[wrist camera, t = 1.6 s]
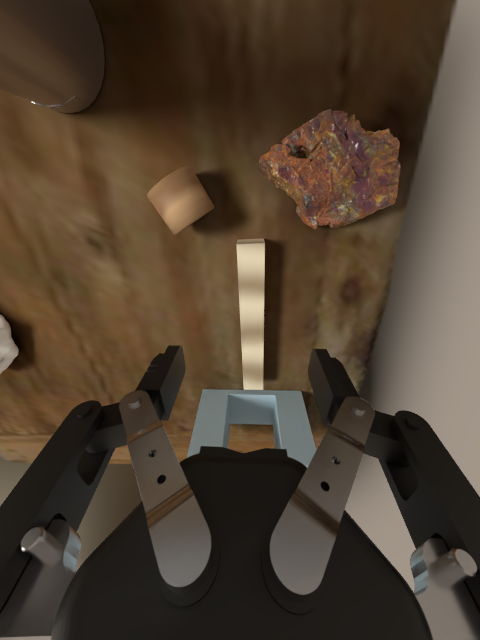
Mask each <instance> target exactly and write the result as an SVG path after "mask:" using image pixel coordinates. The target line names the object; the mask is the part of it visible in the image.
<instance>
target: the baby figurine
mask: <svg viewBox="0 0 480 640" xmlns="http://www.w3.org/2000/svg"><path fill="white" fill-rule="evenodd" d="M18 353H19V350H18V347H17V346H16V345H15V343H14V341H13V340H12V338H11V328H10V325H9V323H8V322H7V321H6V320H5V318H4V317H3V316H2V315H0V374H1V373H2V372H3V371H4V370H5V369H6V368H8V367H9V365H10V364H11V363H12V361H13V360H14V358H15V357H17V356H18Z"/></svg>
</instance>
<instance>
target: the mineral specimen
mask: <svg viewBox="0 0 480 640" xmlns="http://www.w3.org/2000/svg"><path fill="white" fill-rule="evenodd" d="M347 116H348V114H347V112H344V111H332V110H331V109H328V110H326V111H323V112H320V113H319V114H318V115H317V116H316V117H315V118H313V119H312V120H310V121H307V122H306V123H304V124H303V125H302V126H301V127H299V128H296V129H295V130H293V131H292V133H290V134H289V135H288V136H286V137H285V138H284V139H283V140H282V144H275V145H273V146H271V148H270V151H269V152H268V153H267V154H264V155H262V156H261V157H260V161H259V170H260V172H261V173H262V174H263V175H264V176H267V179H268V180H269V181H271V182H272V183H274V184H275V185H276V187H277V188H281V189H282V190H284V192H286V193H287V195H288V196H290V197H292V198H293V199H294V200H295V201H296V203H297V208H296V213H297V214H298V216H299V217H300V218H301V220H302V221H303V222H304V223H305V224H306V225H308V226H310V227H312V228H313V229H315V230H316V229H317V228H318V226H319V225H321V226H323V225H329V226H330V228H339V227H341V225H342V226H346V225H348V224H351V223H353V222H355V221H357V220H359V219H363V218H365V217H366V216H368V215H370V214H372V213H374V212H375V211H377V210H379V209H384V208H386V207H388V206H390V205H394V204H395V201H396V198H397V194H398V184H399V179H398V178H399V176H400V169H401V168H400V167H401V165H400V163H399V162H398V155H399V154H398V153H399V147H400V143H399V140H398V139H397V137H394V136H393V135H392V134H391V133H390V129H389V128H388V129H385V130H383V131H380V130H378V131H376V132H372V131H365V130H364V129H363V128H361V125H360V121H359V120H355V114H354V115H352V116H351V117H348V118H347ZM296 153H299V154H300V156H301V157H302V159H301V158H297V157H295V154H296Z"/></svg>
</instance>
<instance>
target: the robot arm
mask: <svg viewBox="0 0 480 640" xmlns="http://www.w3.org/2000/svg"><path fill="white" fill-rule="evenodd" d="M104 65H105V57H104V46H103V40H102V36H101V32H100V27H99V24H98V21H97V19H96V16H95V13H94V10H93V8H92V6H91V4H90V2H89V0H0V89H2V90H4V91H7V92H9V93H12V94H14V95H17V96H19V97H22V98H24V99H26V100H28V101H30V102H32V103H35V104H37V105H40V106H43V107H47V108H49V109H52V110H55V111H58V112H61V113H75V112H80V111H82V110H83V109H85V108H87V107H89V105H90V104H91V103H92V102H93V101H94V100H95V99H96V97H97V95H98V93H99V91H100V89H101V85H102V81H103V77H104ZM184 374H185V360H184V355H183V349H182V346H171V345H169V346H168V347H167V349H166V351H165V353H164V354H161V353H160V354H159V355H157V356H156V357H155V358H154V359H153V360H152V362H151V364H150V367H148V369H147V372H146V373H145V374H144V376H143V378H142V380H141V381H140V383H139V385H138V387H137V388H136V390H135V391H134V392H131V393H129V394H127V395H126V396H125V397H124V398H123V399H122V400H121V401H120V402H119V403H115V404H111V405H107V406H103V407H102V406H101V404H100V403H99V402H98V401H93V400H92V401H87V402H84V403H81V404H79V405H78V406H76V407H75V408H74V409H73V410H72V411H71V412H70V413H69V414H68V416H67V417H66V418H65V420H64V421H63V422H62V424H61V425H60V427H59V428H58V429H57V431H56V432H55V433H54V435H53V436H52V437H51V439H50V440H49V441H48V443H47V444H46V445H45V447H44V448H43V450H42V451H41V452H40V454H39V455H38V456H37V458H36V459H35V460H34V462H33V463H32V464H31V466H30V467H29V469H28V470H27V471H26V473H25V474H24V475H23V477H22V478H21V479H20V481H19V482H18V483H17V485H16V486H15V487H14V489H13V490H12V492H11V493H10V494H9V496H8V497H7V498H6V500H5V501H4V502H3V504H2V505H1V506H0V640H480V497H479V496H478V494H477V493H476V491H475V490H474V488H473V487H472V485H471V484H470V483H469V481H468V480H467V478H466V477H465V476H464V474H463V473H462V471H461V470H460V468H459V467H458V465H457V464H456V463H455V461H454V460H453V458H452V457H451V455H450V454H449V452H448V451H447V450H446V448H445V447H444V445H443V444H442V442H441V441H440V440H439V438H438V437H437V435H436V434H435V432H434V431H433V429H432V428H431V427H430V425H429V424H428V423H427V422H426V421H425V420H424V419H423V418H422V417H420V416H419V415H417V414H415V413H412V412H410V411H398V412H397V413H396V414H395V416H391V415H388V414H385V413H381V412H378V411H375V410H374V409H373V407H372V406H371V405H370V404H369V403H368V402H367V401H365V400H363V399H361V398H360V397H359V395H358V393H357V391H356V389H355V387H354V385H353V384H352V382H351V380H350V378H349V377H348V374H347V372H346V370H345V368H344V367H343V365H342V363H341V362H340V361H338V360H337V359H336V358H330V355H329V353H328V351H327V350H326V349H313V350H312V353H311V358H310V363H309V368H308V375H309V379H310V383H311V386H312V389H313V392H314V395H315V399H316V402H317V405H318V408H319V411H320V415H321V418H322V421H323V424H324V426H330V427H329V428H328V429H327V431H326V433H325V435H324V437H323V439H322V441H321V443H320V444H319V446H318V448H317V450H316V452H315V454H314V456H313V458H312V460H311V462H310V464H309V466H308V468H307V467H306V466H305V465H304V464H302V463H301V462H299V461H297V460H295V459H293V458H291V457H288V455H287V449H269V448H265V449H261V450H256V451H252V452H248V453H240V452H237V451H233V450H230V449H227V448H224V447H215V446H201V447H200V452H199V453H198V454H195V455H192V456H190V457H188V458H186V459H184V460H183V461H181V462H180V463H179V461H178V459H177V456H176V454H175V452H174V449H173V447H172V445H171V443H170V440H169V438H168V436H167V433H166V431H165V429H164V427H163V424H162V422H161V420H168V419H169V416H170V413H171V411H172V408H173V405H174V402H175V399H176V397H177V394H178V391H179V388H180V385H181V382H182V380H183V377H184ZM124 445H128V448H129V452H130V456H131V460H132V464H133V467H134V471H135V474H136V479H137V482H138V486H139V490H140V494H141V498H142V502H141V503H140V504H139V505H138V506H137V507H136V508H135V509H134V510H133V511H132V512H131V513H130V514H129V515H128V516H127V517H126V518H125V519H124V520H123V521H122V522H121V523H120V524H119V526H118V527H117V528H116V529H115V530H114V531H113V532H112V533H111V534H110V535H109V536H108V537H107V538H106V539H105V540H104V541H103V542H102V543H101V544H100V545H99V546H98V547H97V548H96V549H95V550H94V551H93V552H92V554H91V555H90V556H89V557H88V558H87V559H86V560H85V561H84V562H83V564H82V565H81V566H80V568H79V569H78V570H77V572H76V562H77V558H78V555H79V552H80V548H81V538H80V536H79V534H78V533H77V530H78V528H79V525H80V523H81V521H82V519H83V517H84V514H85V512H86V510H87V508H88V506H89V504H90V502H91V499H92V497H93V495H94V493H95V491H96V488H97V486H98V484H99V482H100V480H101V478H102V476H103V473H104V471H105V469H106V467H107V465H108V463H109V460H110V458H111V456H112V454H113V452H114V450H115V448H117V447H120V446H124ZM363 453H365V454H368V455H370V456H373V457H376V458H378V459H379V462H380V464H381V466H382V469H383V471H384V473H385V476H386V478H387V481H388V483H389V485H390V488H391V490H392V492H393V495H394V497H395V500H396V502H397V505H398V507H399V509H400V511H401V514H402V517H403V519H404V521H405V524H406V526H407V528H408V531H409V533H410V536H411V538H412V540H413V543H414V545H415V548H416V550H415V551H414V552H413V553H412V555H411V558H410V566H411V570H412V574H413V578H414V583H415V590H414V593H413V591H412V590H411V588H410V587H409V585H408V584H407V582H406V581H405V580H404V578H403V577H402V576H401V574H400V573H399V572H398V571H397V570H396V569H395V568H394V566H393V565H392V564H391V563H390V562H389V561H388V560H387V558H386V557H385V556H384V555H383V554H382V552H381V551H380V550H379V549H378V548H377V547H376V546H375V544H374V543H373V542H372V541H371V540H370V539H369V537H368V536H367V535H366V534H365V533H364V532H363V530H362V529H361V528H360V527H359V526H358V525H357V523H356V522H355V521H354V520H353V519H352V518H351V516H350V515H349V514H348V513H347V512H346V511H345V510H344V509H345V506H346V503H347V500H348V497H349V494H350V491H351V488H352V486H353V483H354V479H355V477H356V473H357V471H358V468H359V465H360V462H361V459H362V456H363Z"/></svg>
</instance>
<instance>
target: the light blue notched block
mask: <svg viewBox="0 0 480 640" xmlns="http://www.w3.org/2000/svg"><path fill="white" fill-rule="evenodd" d="M230 424H265V425H273V432H274V443H275V449H287V455H288V457H291V458H293V459H295V460H297V461H299V462H301V463H302V464H304V465H305V466H306V467H307V468H308V466H309V464H310V462H311V460H312V458H313V456H314V454H315V452H316V447H315V444H314V440H313V436H312V432H311V428H310V424H309V420H308V416H307V412H306V408H305V404H304V400H303V396H302V392H301V391H276V390H214V389H203V391H202V395H201V400H200V404H199V408H198V412H197V416H196V421H195V425H194V429H193V433H192V438H191V442H190V446H189V450H188V454H187V458H188V457H190V456H192V455H195V454H198V453H199V452H200V447H201V446H215V447H224V448H227V449H228V442H229V431H230Z"/></svg>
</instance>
